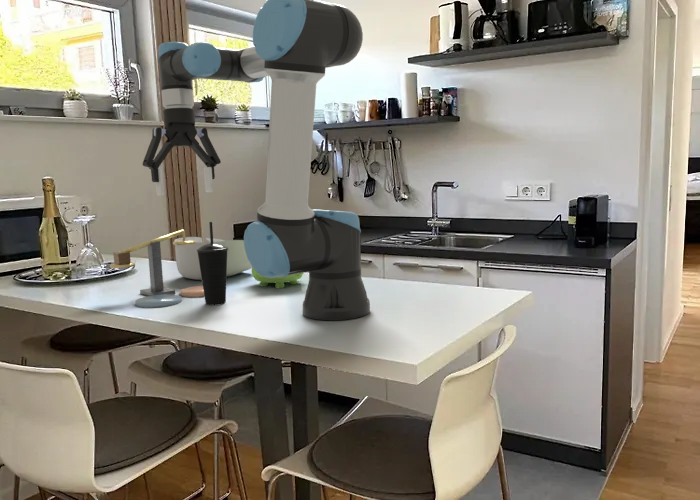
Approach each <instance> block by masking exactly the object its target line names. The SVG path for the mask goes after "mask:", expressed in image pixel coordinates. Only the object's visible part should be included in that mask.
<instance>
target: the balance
mask: <svg viewBox="0 0 700 500" xmlns="http://www.w3.org/2000/svg"><path fill="white" fill-rule="evenodd" d="M185 232H186V231H185V230H184V229H183V228H182V229H179V230H177V231H174V232H171V233H169V234H166V235H162V236H159V237H156V238H153V239H151V240H148V241H145V242H142V243H140V244H139V243H138V244H137V245H133V246H130V247H128V248H125V249H121V250H120V251H115V252H114V251H113V263H111V264H110V265H109V267H110V269H125V268H126V269H127V268H132V267H133V268H134V267H135V266H136V262H134V261H131V253H132V252H135V251H138V250H141V249H143V248H146V247H147V254H148V267H149V270H148V271H149V280H150V281H149V282H150V287H149V288H145V289H140V290H139V293H140V294H141V295H144V296H145V297H147V296H153V295H164V294H172V295H176V290H174V289H171V288H168V287H164V278H163V264H162V263H163V261H162V251H161V250H162V248H161V242H164V241H167V240H169V239H173V238H175V237H178V236H180V235H182V238H183V240H180V241H175V240H174V241H173V242H172V245H173V246H175V245H190V244H195V243H196V241H195V240H185V237H186V233H185Z"/></svg>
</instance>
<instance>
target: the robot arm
mask: <svg viewBox="0 0 700 500" xmlns="http://www.w3.org/2000/svg"><path fill="white" fill-rule="evenodd" d="M252 28H253V29H252V43H253V45H251V46H248V47H245V48H241V49H236V48H235V49H234V48H233V49H232V48H227V47H219V46H217V47H216V46H215V45H213V44H211V42H207V41H201V42H194V43H192V44H190V45H188V44H187V43H186V42H180V41H168V42H163V43H160V44H159V46H158V48H157V49H158V58H157V62H158V69H159V76H160V77H159V79H160V87H161V100H162V101H161V102H162V107H163V111H162V113H163V114H162V115H163V124H164V128H161V127H159V126H158V127H154V128H152V133H151V134H152V137H151V140H150V143H149V145H148V148H147V150H146V153H145V156H144V157H143V158H144V159H143V161H142V167H147V168H148V169H150V175H151V181H152V183H154V184H155V194H156V196H157V197H163V196H165V187H164V175H163V168H159V167H161V164H163V161H164V160H165V159H166V158H167V156H168V155H169V153H170V152H171V150H172V149H174V147H189V148H191V150H192V151H193V152H194V153H195V154H196V156H197V157H198V158H199V160H200V161H201V162H203V163H204V165H205V167H203V176H204V178H203V179H204V191H205V193H214V183H213V182H214V181H213V180H215V177H216V175H215V167H216V166H217V165H219V164H221V159H220V157H219V155H218V153H217V151H216V149H215V147H214V145H213V143H212V142H211V139H210V137H209V134H208V129H207V128H206V127H202V128H198V129H196V116H195V115H196V114H195V109H194V108H193V107H194V106H195V100H194V91H193V90H194V89H193V80H197V79H200V80H201V79H202V80H213V81H214V80H216V81H232V82H233V81H234V82H242V83H243V82H244V83H247V84H248V83H260V82H261V81H263V79H265V78H266V77H269V78H270V80H271V90H270V108H269V109H270V110H269V128H268V146H267V164H266V165H267V167H266V183H265V184H266V185H265V201H264V203H263V204H261V205H260V206H259V207H258V208H257V211H256V221H253V222H251V223H250V224H248V225H247V227H246V229H245V230H244V235H243V240H244V247H245V252H246V255H247V258H248V260H249V262H250V263H251V266H252V267H253V268H254V270H255V271H256V272H257V273H259V274H260V275H262V276H264V277H267V278H274V277H286V276H289V275H294V274H299V273H303V274H304V273H308V275H309V278H308V283H307V287H306V292H305V294H304V296H305V297H304V300H303V301H302V315H303V316H304V317H306V318H309V319H313V320H320V321H345V320H353V319H358V318H361V317H365V316H367V315H368V314H369V313H371V312H370V311H371V303H370V302H371V301H370V299H369V297H368V295H367V290H366V287H365V285H364V282H363V278H362V257H361V256H362V255H361V254H362V252H361V251H362V248H361V247H362V245H361V234H362V229H361V227H360V226H361V225H360V217H359V216H358V214H357V213H355V212H353V211H343V210H330V209H329V210H327V209H326V210H325V209H312V208H311V207H310V206H309V196H310V195H309V194H310V193H309V191H310V179H311V178H310V177H311V166H312V165H311V163H312V161H311V160H312V152H313V151H312V150H313V138H314V137H313V136H314V122H315V108H316V94H317V93H316V92H317V84H318V83H319V81H320V80H322V78H323V77H325V76H326V68H327V69H328V68H332V67H338V66H344V65H346V64H348V63H350V62H351V61H353V60H354V59H355V58H356V57H357V56H358V54H359V52H360V50H361V48H362V45H363V37H364V36H363V27H362V25H361V22H360V20H359V19H358V17H357V16H356V14H355V13H353V11H351V9H349V8H348V7H345V6H344V5H342V4H338V3H332V2H331V3H330V2H326V1H321V0H265V2H264V3H263V5H262V7H260V9H259V11H258V13H257V14H256V17H255V20H254V23H253V27H252ZM164 108H165V109H164ZM164 136H165V137H166V140H165V142H164V143H163V146H162V147H161V149H160V150H159V151H158V148H159V146H160V143H161V140H162V137H164ZM196 136H197V137H198V138H199V140H200V142H201V144H202V146H203V147H202V146H201V145H200V142H199V141H198V140H197V138H196ZM203 148H204V149H203ZM157 151H158V153H157Z"/></svg>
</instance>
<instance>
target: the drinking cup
mask: <svg viewBox="0 0 700 500" xmlns="http://www.w3.org/2000/svg"><path fill="white" fill-rule="evenodd" d="M213 228H214V227H213V221H209V236H210V237H209V238H210V241H211V243H208V244H205V245H203V246H201V247H199V248H197V249H196V251H197V252H198V258H199V264H200V271H201V277H202V280H201V283H202V286H203V290H204V296H205V297H204V302H205V305H207V306H219V305H223V304H225V303H226V299H227V298H226V297H227V277H226V276H227V250H228V247H227V246H224V245H222V244H218V243H213V238H214V232H213V231H214V230H213Z"/></svg>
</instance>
